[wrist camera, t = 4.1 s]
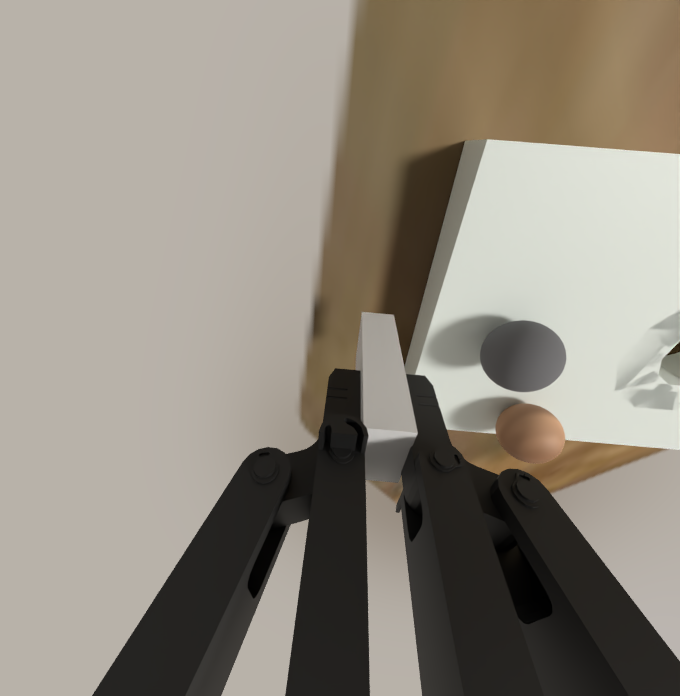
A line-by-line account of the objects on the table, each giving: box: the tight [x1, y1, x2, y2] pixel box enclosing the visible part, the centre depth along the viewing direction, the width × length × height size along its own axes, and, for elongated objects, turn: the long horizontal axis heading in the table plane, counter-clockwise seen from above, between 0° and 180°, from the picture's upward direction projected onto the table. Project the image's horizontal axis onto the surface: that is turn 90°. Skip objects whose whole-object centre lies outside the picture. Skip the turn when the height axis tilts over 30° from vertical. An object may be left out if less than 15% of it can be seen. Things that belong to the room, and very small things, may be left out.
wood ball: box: [495, 403, 565, 463], centre depth 16 cm, size 3×3×3 cm
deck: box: [404, 139, 680, 450], centre depth 15 cm, size 16×20×2 cm
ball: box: [480, 320, 566, 392], centre depth 13 cm, size 3×3×3 cm
